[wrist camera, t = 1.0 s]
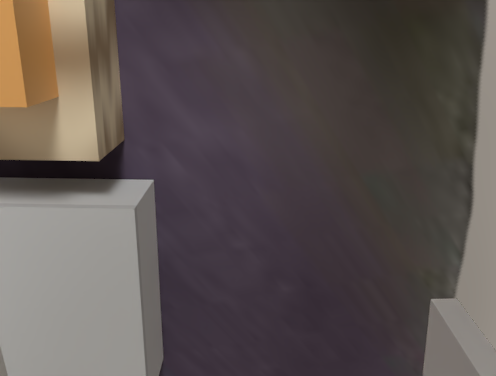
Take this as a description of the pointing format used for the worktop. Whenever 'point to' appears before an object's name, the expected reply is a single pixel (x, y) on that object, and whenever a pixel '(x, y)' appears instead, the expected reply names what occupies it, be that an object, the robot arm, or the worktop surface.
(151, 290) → the dock
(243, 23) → the worktop surface
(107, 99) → the pallet
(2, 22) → the orange square block
